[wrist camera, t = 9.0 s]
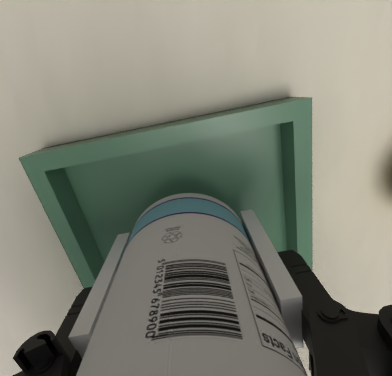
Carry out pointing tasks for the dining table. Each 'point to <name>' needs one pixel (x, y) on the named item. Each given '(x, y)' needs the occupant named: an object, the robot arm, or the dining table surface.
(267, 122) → the tray
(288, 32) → the dining table surface
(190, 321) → the beverage can
